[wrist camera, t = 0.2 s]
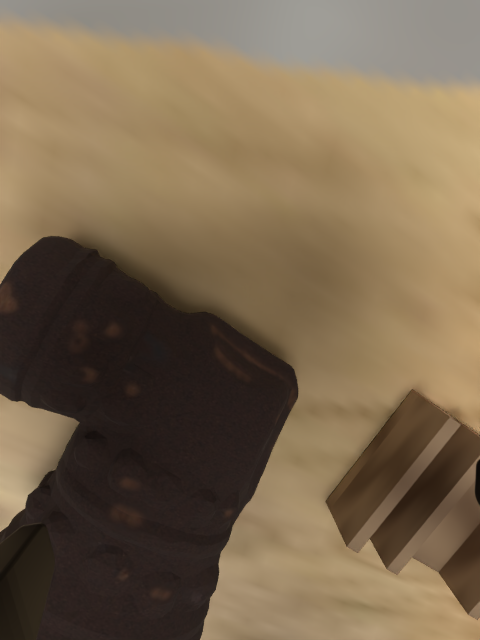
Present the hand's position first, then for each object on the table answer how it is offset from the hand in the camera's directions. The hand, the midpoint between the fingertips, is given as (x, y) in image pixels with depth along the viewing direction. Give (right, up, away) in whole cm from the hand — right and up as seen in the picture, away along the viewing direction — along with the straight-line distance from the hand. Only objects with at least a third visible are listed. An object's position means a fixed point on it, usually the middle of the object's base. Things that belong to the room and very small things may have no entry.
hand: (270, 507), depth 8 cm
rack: (+13, -8, +18) cm, 23 cm away
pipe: (-7, -1, +15) cm, 17 cm away
